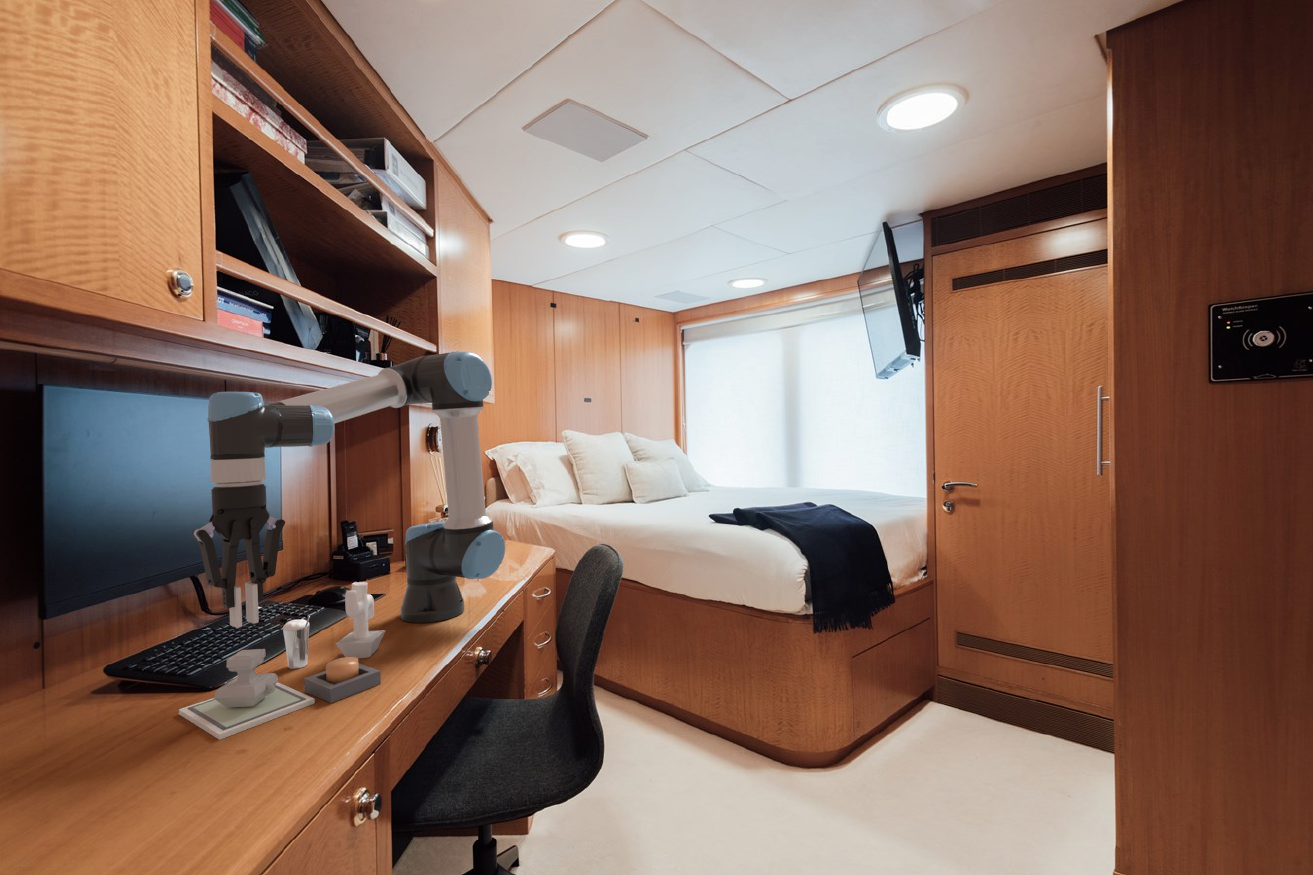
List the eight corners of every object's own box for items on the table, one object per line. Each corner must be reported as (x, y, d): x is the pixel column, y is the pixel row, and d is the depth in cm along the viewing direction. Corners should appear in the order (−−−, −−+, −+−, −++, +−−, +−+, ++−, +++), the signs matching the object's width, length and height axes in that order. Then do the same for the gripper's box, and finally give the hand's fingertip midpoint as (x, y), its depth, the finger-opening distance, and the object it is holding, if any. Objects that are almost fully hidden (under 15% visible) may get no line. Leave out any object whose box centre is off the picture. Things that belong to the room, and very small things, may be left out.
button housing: (353, 673, 115) (353, 661, 115) (380, 683, 110) (380, 670, 110) (304, 691, 107) (304, 678, 107) (331, 703, 102) (330, 689, 102)
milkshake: (302, 671, 117) (300, 620, 117) (278, 669, 118) (276, 619, 118) (319, 662, 121) (317, 613, 121) (297, 660, 122) (295, 612, 122)
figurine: (388, 645, 130) (385, 576, 130) (370, 662, 121) (367, 587, 120) (353, 647, 129) (351, 577, 129) (333, 664, 120) (330, 589, 120)
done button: (349, 670, 112) (348, 654, 112) (364, 676, 109) (364, 660, 109) (320, 680, 108) (320, 664, 108) (336, 687, 105) (335, 670, 105)
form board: (270, 683, 111) (270, 678, 111) (314, 703, 103) (314, 698, 103) (179, 714, 100) (178, 708, 100) (219, 739, 91) (219, 733, 91)
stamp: (206, 713, 98) (204, 662, 98) (232, 695, 104) (230, 647, 104) (263, 710, 98) (261, 659, 98) (286, 692, 105) (284, 645, 105)
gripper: (276, 479, 109) (281, 608, 109) (176, 487, 97) (182, 633, 97) (296, 480, 105) (301, 614, 105) (195, 489, 92) (201, 641, 93)
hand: (244, 623), depth 101 cm, fingers closed
